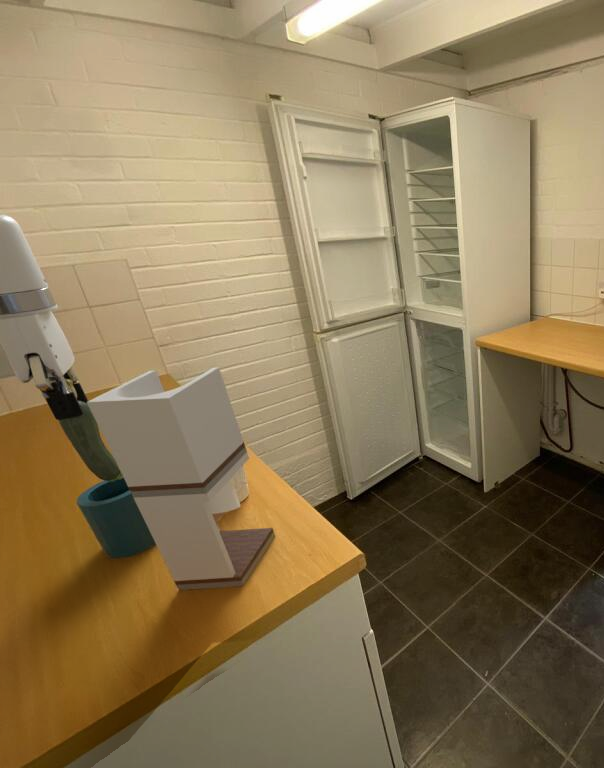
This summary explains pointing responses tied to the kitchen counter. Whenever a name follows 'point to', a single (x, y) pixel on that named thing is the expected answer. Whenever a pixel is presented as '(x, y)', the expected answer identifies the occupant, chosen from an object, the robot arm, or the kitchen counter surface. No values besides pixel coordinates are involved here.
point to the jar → (115, 519)
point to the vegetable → (90, 442)
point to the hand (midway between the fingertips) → (73, 410)
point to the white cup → (240, 484)
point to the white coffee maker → (183, 474)
